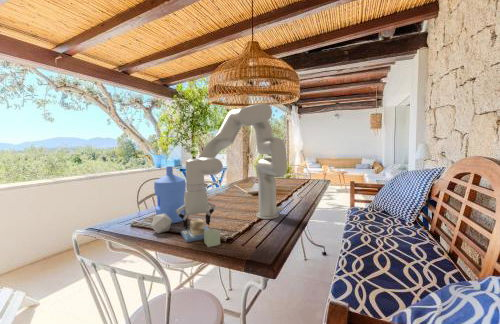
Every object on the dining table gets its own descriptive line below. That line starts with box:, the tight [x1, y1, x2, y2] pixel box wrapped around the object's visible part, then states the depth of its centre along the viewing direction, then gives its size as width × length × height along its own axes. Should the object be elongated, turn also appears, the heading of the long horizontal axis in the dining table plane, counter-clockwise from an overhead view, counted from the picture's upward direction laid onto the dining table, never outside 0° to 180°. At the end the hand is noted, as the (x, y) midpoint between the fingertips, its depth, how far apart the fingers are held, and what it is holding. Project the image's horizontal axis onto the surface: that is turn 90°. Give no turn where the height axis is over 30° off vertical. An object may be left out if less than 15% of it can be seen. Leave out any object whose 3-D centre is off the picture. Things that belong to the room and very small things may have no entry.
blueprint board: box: [180, 225, 211, 243], centre depth 108 cm, size 12×11×1 cm
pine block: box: [189, 218, 205, 235], centre depth 108 cm, size 5×5×5 cm
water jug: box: [153, 166, 187, 225], centre depth 128 cm, size 16×16×28 cm
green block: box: [203, 228, 221, 248], centre depth 99 cm, size 5×5×5 cm
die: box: [150, 213, 172, 234], centre depth 113 cm, size 8×9×10 cm
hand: (197, 225), depth 108 cm, fingers open, 9 cm apart
